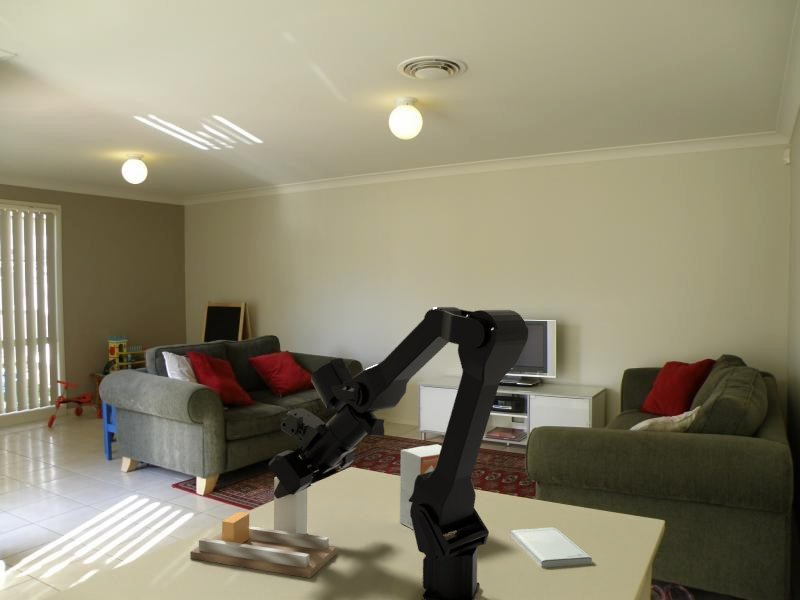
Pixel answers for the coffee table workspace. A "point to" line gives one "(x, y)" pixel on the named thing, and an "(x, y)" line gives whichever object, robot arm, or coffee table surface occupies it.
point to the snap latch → (236, 528)
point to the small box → (414, 474)
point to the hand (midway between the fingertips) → (283, 492)
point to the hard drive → (550, 547)
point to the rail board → (269, 551)
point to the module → (290, 511)
